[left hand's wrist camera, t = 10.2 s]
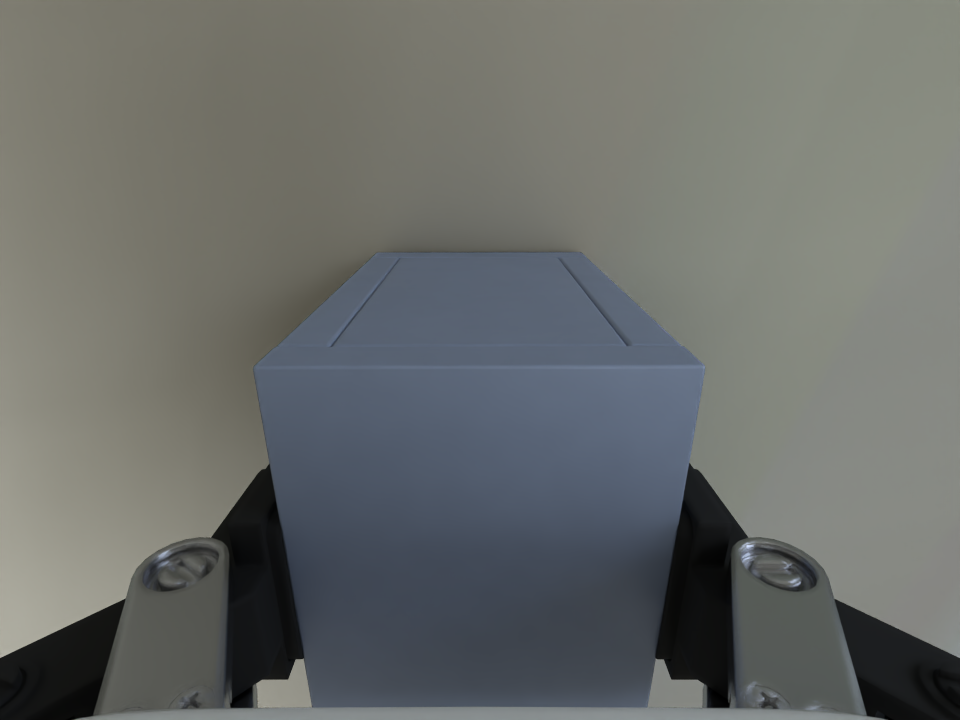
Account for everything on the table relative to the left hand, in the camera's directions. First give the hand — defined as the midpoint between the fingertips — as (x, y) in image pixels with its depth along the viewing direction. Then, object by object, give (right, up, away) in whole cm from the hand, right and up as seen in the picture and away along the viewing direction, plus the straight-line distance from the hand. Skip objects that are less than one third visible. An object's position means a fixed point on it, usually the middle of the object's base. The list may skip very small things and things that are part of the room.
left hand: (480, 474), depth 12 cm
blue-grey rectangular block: (0, -3, +7) cm, 8 cm away
